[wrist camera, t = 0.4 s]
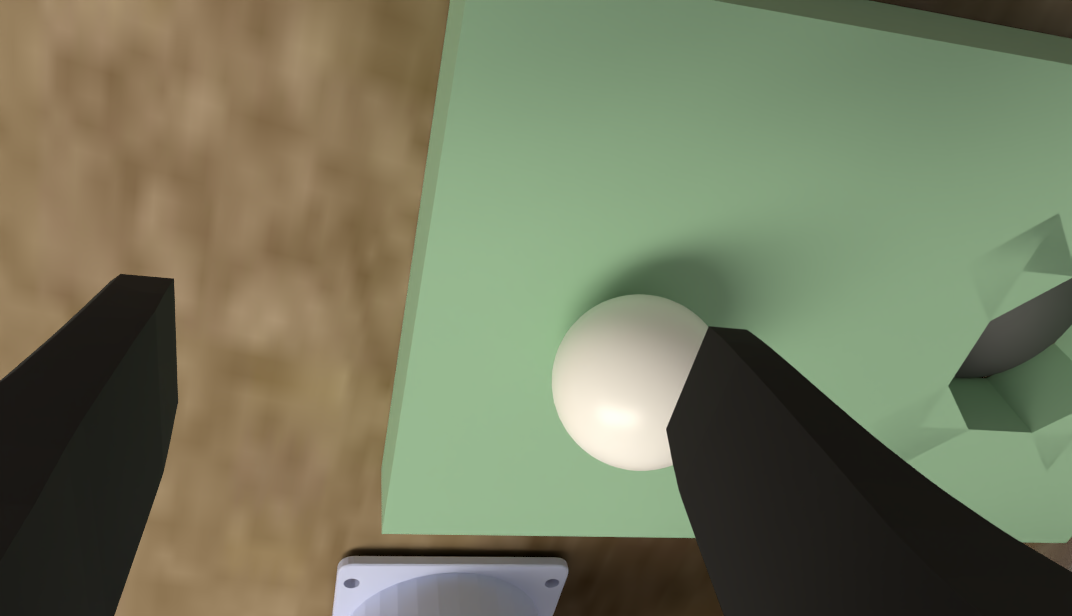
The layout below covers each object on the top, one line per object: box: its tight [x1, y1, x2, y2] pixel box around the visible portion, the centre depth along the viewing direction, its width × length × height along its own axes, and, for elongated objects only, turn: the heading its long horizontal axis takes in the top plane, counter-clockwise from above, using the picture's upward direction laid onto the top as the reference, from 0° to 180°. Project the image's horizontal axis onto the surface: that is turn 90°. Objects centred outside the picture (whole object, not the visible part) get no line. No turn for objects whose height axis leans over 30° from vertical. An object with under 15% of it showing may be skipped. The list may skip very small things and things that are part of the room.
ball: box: [552, 294, 708, 471], centre depth 19 cm, size 4×4×4 cm
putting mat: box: [382, 0, 1072, 543], centre depth 24 cm, size 16×24×2 cm, turn 78°
